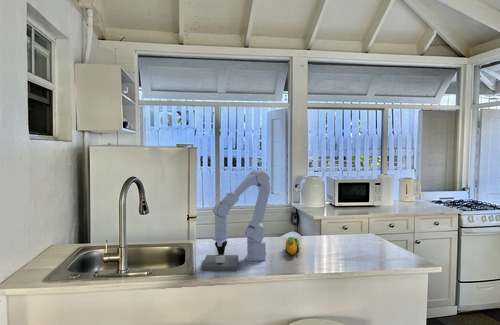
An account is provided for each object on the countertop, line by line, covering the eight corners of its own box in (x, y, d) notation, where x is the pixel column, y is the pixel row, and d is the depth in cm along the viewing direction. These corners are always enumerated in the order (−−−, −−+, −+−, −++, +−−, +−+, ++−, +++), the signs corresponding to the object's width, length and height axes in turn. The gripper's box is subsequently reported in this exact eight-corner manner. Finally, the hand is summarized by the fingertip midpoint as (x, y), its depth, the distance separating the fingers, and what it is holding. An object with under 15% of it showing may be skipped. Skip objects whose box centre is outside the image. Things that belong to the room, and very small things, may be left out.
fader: (224, 261, 158) (224, 254, 158) (224, 263, 156) (224, 256, 155) (216, 261, 158) (216, 254, 158) (215, 263, 156) (215, 256, 155)
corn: (298, 233, 187) (300, 244, 167) (299, 247, 187) (301, 259, 167) (284, 234, 187) (285, 245, 168) (285, 248, 188) (286, 260, 168)
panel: (238, 259, 168) (238, 254, 168) (236, 270, 152) (236, 266, 152) (206, 259, 168) (206, 254, 168) (201, 270, 152) (201, 266, 152)
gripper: (214, 225, 168) (214, 252, 168) (210, 232, 153) (211, 262, 154) (228, 225, 168) (228, 252, 168) (226, 232, 153) (226, 262, 154)
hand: (221, 257), depth 161 cm, fingers closed
